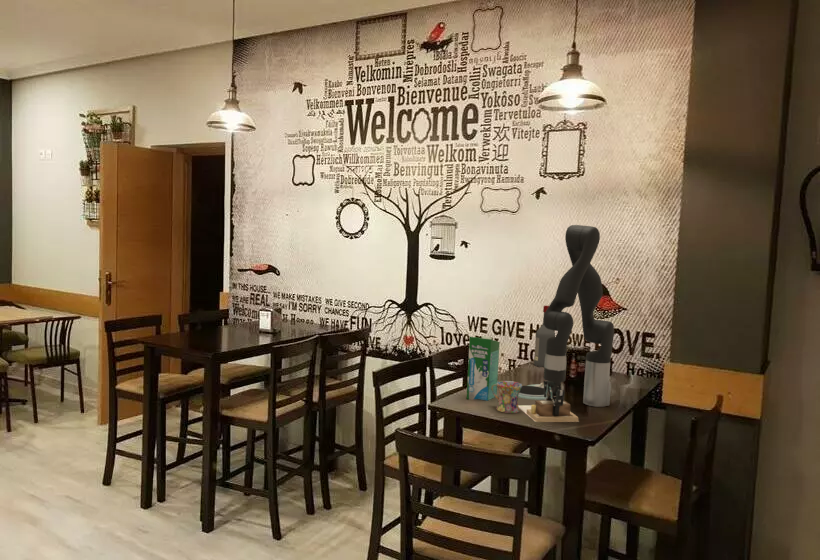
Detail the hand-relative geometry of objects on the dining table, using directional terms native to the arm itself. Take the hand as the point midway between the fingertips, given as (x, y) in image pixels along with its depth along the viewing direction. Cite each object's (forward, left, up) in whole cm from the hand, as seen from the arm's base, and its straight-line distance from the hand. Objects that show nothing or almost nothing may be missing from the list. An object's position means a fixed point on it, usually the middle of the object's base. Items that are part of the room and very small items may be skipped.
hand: (552, 413), depth 227 cm
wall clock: (-6, -34, -3) cm, 35 cm away
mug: (+14, -11, -3) cm, 18 cm away
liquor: (-31, -88, -3) cm, 93 cm away
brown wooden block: (0, 0, 0) cm, 0 cm away
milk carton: (+18, -28, -3) cm, 33 cm away
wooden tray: (0, -5, -2) cm, 6 cm away
